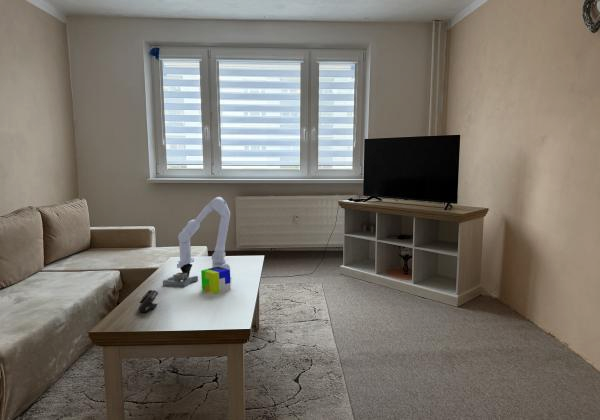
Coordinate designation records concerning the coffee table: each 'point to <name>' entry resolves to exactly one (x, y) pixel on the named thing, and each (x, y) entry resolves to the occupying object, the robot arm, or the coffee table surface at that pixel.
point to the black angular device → (148, 301)
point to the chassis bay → (181, 283)
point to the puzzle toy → (215, 280)
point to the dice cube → (180, 276)
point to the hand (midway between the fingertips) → (186, 277)
